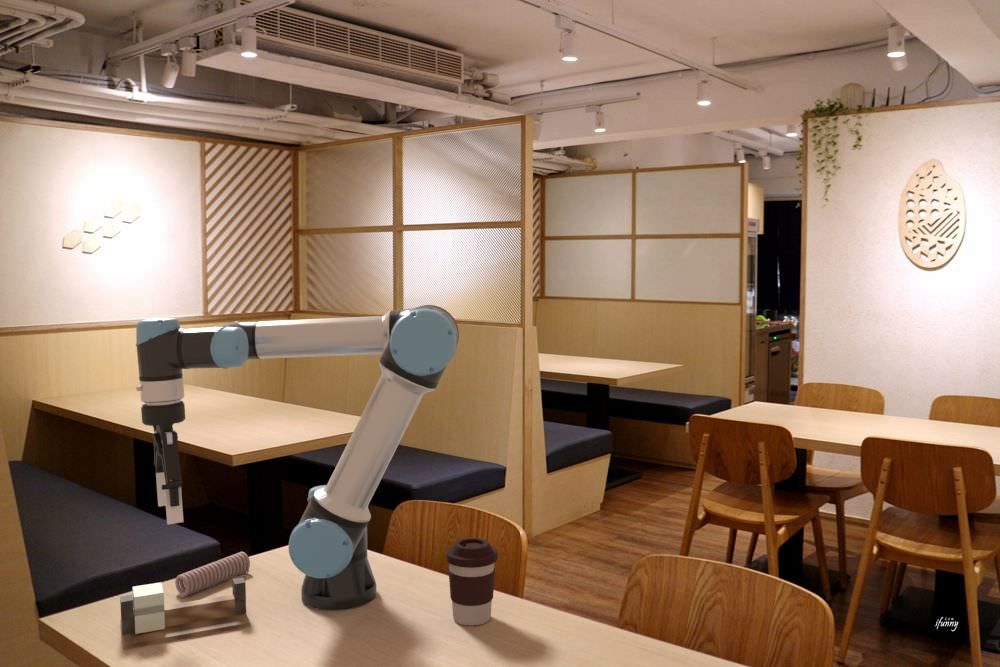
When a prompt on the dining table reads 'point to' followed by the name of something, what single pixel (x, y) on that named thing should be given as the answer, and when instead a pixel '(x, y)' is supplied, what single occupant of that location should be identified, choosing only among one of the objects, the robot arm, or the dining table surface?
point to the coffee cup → (471, 580)
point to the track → (185, 631)
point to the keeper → (148, 608)
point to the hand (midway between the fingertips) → (170, 513)
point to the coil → (212, 574)
